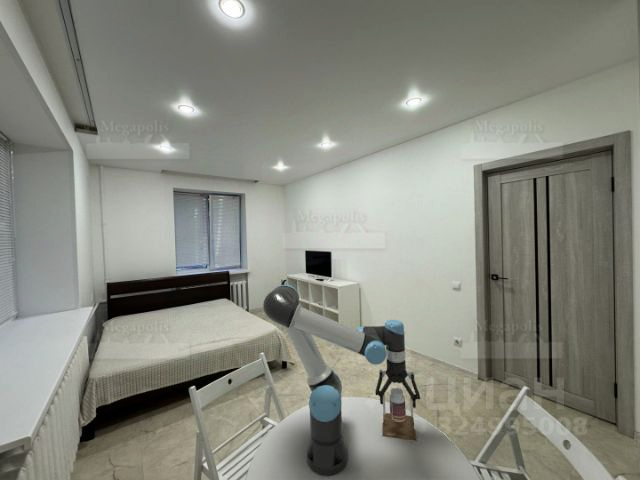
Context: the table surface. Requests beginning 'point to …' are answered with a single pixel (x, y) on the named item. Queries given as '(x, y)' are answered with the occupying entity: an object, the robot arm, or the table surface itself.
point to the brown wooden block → (398, 428)
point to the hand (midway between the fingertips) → (398, 413)
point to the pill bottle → (397, 405)
